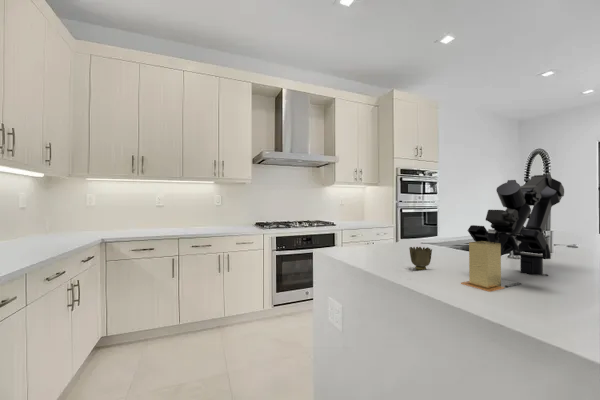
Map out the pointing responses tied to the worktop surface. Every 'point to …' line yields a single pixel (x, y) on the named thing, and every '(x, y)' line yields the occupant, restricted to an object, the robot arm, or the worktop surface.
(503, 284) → the silver flat plate
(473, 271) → the brass block
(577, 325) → the worktop surface
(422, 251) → the cup
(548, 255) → the robot arm
